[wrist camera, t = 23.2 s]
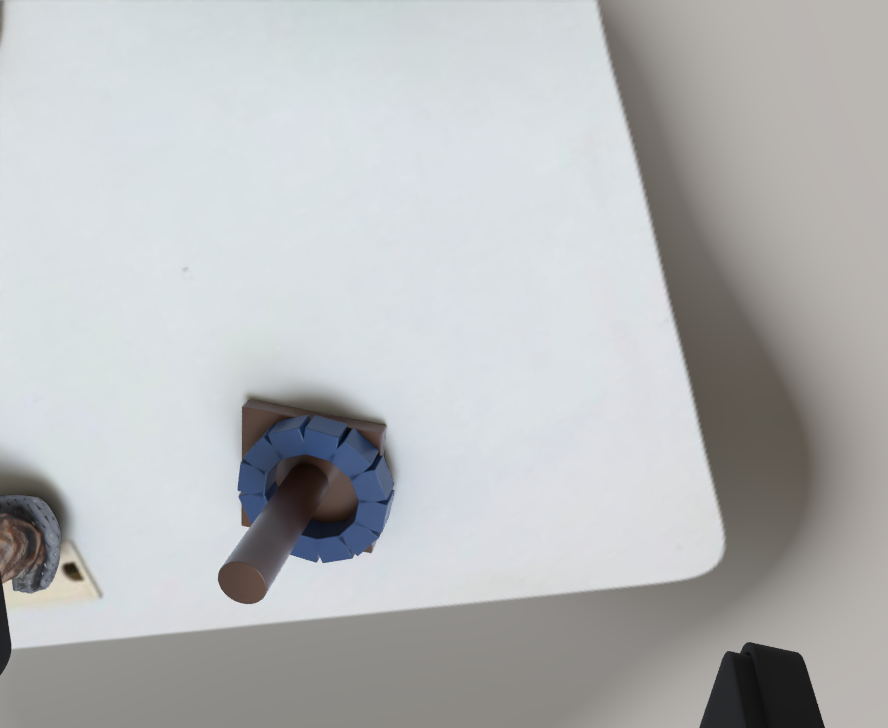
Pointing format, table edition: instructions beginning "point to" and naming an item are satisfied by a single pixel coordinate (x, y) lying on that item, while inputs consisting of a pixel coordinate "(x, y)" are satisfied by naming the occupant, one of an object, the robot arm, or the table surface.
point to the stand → (288, 503)
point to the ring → (347, 456)
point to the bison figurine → (28, 543)
